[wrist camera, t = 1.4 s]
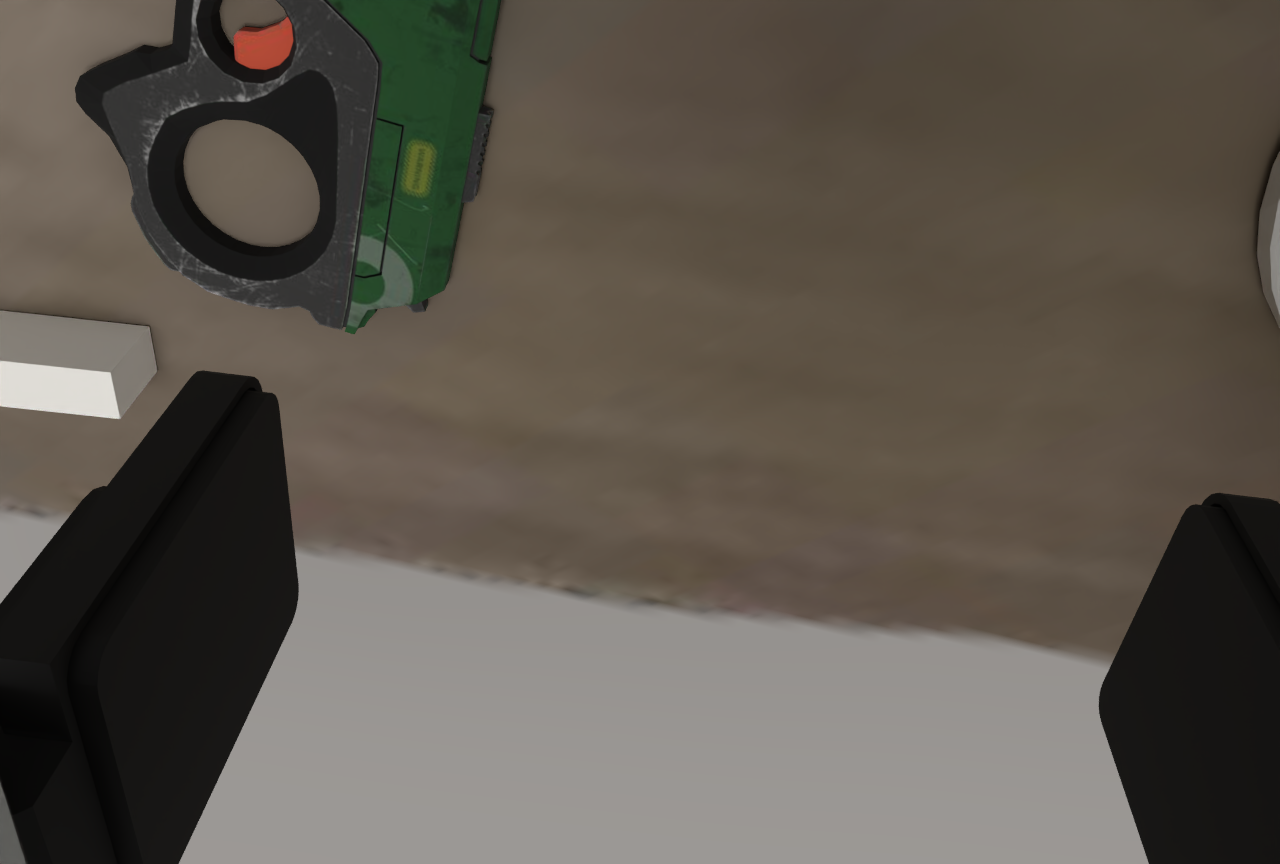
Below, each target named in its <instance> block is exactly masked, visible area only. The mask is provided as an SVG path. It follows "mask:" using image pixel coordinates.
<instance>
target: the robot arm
mask: <svg viewBox="0 0 1280 864" xmlns="http://www.w3.org/2000/svg"><path fill="white" fill-rule="evenodd" d="M1257 258H1258V264H1259V270H1260V276H1261V282H1262V288H1263V293H1264V296H1265V298H1266V300H1267V302H1268V304H1269V307H1270V309H1271V311H1272V313H1273V315H1274V318H1275V320H1276V322H1277V324H1278V326H1279V328H1280V152H1279V154H1278V156H1277V158H1276V160H1275V162H1274V164H1273V166H1272V170H1271V174H1270V177H1269V181H1268V184H1267V188H1266V191H1265V195H1264V199H1263V202H1262V206H1261V209H1260V216H1259V231H1258V246H1257ZM298 592H299V591H298V577H297V567H296V558H295V548H294V539H293V530H292V521H291V512H290V503H289V493H288V484H287V475H286V466H285V457H284V448H283V438H282V429H281V420H280V411H279V404H278V400H277V397H276V395H274V394H273V393H267V392H262V388H261V385H260V383H259V381H258V379H256V378H255V377H251V376H243V375H235V374H226V373H218V372H210V371H198V372H196V373H195V374H194V375H193V376H192V377H191V378H190V379H189V381H188V382H187V383H186V384H185V386H184V387H183V388H182V390H181V391H180V392H179V393H178V395H177V396H176V397H175V399H174V400H173V401H172V403H171V404H170V405H169V406H168V408H167V409H166V410H165V412H164V413H163V414H162V416H161V417H160V418H159V419H158V421H157V422H156V423H155V425H154V426H153V427H152V429H151V430H150V431H149V432H148V434H147V435H146V436H145V438H144V439H143V440H142V442H141V443H140V444H139V445H138V447H137V448H136V449H135V451H134V452H133V453H132V454H131V456H130V457H129V458H128V460H127V461H126V462H125V464H124V465H123V466H122V467H121V469H120V470H119V471H118V473H117V474H116V475H115V477H114V478H113V479H112V480H111V482H110V483H109V484H108V486H102V487H99V488H96V489H94V490H92V491H91V492H90V493H89V494H88V495H87V496H86V497H85V498H84V499H83V500H82V501H81V502H80V504H79V505H78V506H77V507H76V509H75V510H74V511H73V513H72V514H71V515H70V516H69V518H68V519H67V520H66V521H65V523H64V524H63V525H62V526H61V528H60V529H59V530H58V532H57V533H56V534H55V535H54V537H53V538H52V539H51V541H50V542H49V543H48V544H47V546H46V547H45V548H44V549H43V551H42V552H41V553H40V554H39V556H38V557H37V558H36V560H35V561H34V562H33V563H32V565H31V566H30V567H29V568H28V570H27V571H26V572H25V574H24V575H23V576H22V577H21V579H20V580H19V581H18V582H17V584H16V585H15V586H14V587H13V589H12V590H11V591H10V593H9V594H8V595H7V596H6V598H5V599H4V600H3V601H2V603H1V604H0V864H179V861H180V859H181V857H182V855H183V853H184V851H185V849H186V846H187V844H188V842H189V840H190V838H191V836H192V833H193V831H194V830H195V827H196V825H197V823H198V821H199V819H200V817H201V815H202V813H203V810H204V808H205V806H206V804H207V802H208V800H209V798H210V796H211V793H212V791H213V789H214V787H215V785H216V783H217V781H218V778H219V776H220V774H221V772H222V770H223V768H224V766H225V763H226V761H227V759H228V757H229V755H230V752H231V751H232V749H233V746H234V744H235V742H236V740H237V738H238V736H239V734H240V732H241V729H242V727H243V725H244V723H245V721H246V719H247V716H248V714H249V712H250V710H251V708H252V706H253V704H254V702H255V700H256V698H257V695H258V693H259V691H260V689H261V687H262V685H263V683H264V681H265V678H266V676H267V674H268V672H269V670H270V668H271V666H272V664H273V661H274V659H275V657H276V655H277V653H278V651H279V648H280V646H281V644H282V642H283V640H284V638H285V636H286V634H287V632H288V629H289V627H290V625H291V623H292V621H293V618H294V615H295V612H296V607H297V601H298ZM1099 714H1100V718H1101V722H1102V725H1103V728H1104V731H1105V734H1106V737H1107V740H1108V743H1109V746H1110V749H1111V752H1112V755H1113V758H1114V761H1115V764H1116V767H1117V770H1118V773H1119V776H1120V779H1121V782H1122V785H1123V788H1124V791H1125V794H1126V797H1127V799H1128V803H1129V806H1130V809H1131V812H1132V814H1133V817H1134V820H1135V823H1136V826H1137V829H1138V832H1139V835H1140V838H1141V841H1142V844H1143V847H1144V850H1145V853H1146V856H1147V859H1148V862H1149V864H1280V504H1279V503H1278V502H1277V501H1274V500H1271V499H1265V498H1257V497H1248V496H1240V495H1232V494H1223V493H1215V494H1211V495H1210V496H1209V497H1208V498H1206V499H1205V500H1204V502H1203V504H1202V505H1196V504H1195V505H1191V506H1190V507H1189V508H1187V509H1186V511H1185V512H1184V514H1183V516H1182V517H1181V520H1180V522H1179V524H1178V526H1177V528H1176V530H1175V532H1174V534H1173V536H1172V539H1171V541H1170V543H1169V545H1168V547H1167V549H1166V551H1165V553H1164V555H1163V557H1162V560H1161V562H1160V564H1159V566H1158V568H1157V570H1156V572H1155V574H1154V576H1153V578H1152V581H1151V583H1150V585H1149V587H1148V589H1147V591H1146V593H1145V595H1144V597H1143V600H1142V602H1141V604H1140V606H1139V608H1138V610H1137V612H1136V614H1135V616H1134V618H1133V621H1132V623H1131V625H1130V627H1129V629H1128V631H1127V633H1126V635H1125V637H1124V639H1123V642H1122V644H1121V646H1120V648H1119V650H1118V652H1117V654H1116V656H1115V658H1114V660H1113V663H1112V665H1111V667H1110V669H1109V671H1108V673H1107V675H1106V677H1105V679H1104V682H1103V684H1102V687H1101V691H1100V696H1099Z"/></svg>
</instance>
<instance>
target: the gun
mask: <svg viewBox="0 0 1280 864" xmlns="http://www.w3.org/2000/svg"><path fill="white" fill-rule="evenodd" d="M276 1H277V2H278V3H279V4H280V5H281V6H282V7H283V8H284V10H285V12H286V14H287V16H288V17H287V18H286V19H284V20H283V21H281V22H278V23H275V24H272V25H270V26H267V27H264V28H254V27H243V28H241V29H240V30H239V31H238V32H237V33H236V34H235V35H234V47H233V46H232V45H231V44H230V43H229V41H228V39H227V37H226V35H225V33H224V31H223V29H222V27H221V20H220V13H219V10H220V6H221V2H222V0H176V8H175V19H174V31H173V44H172V45H168V46H164V47H160V48H159V47H153V46H148V45H143V46H141V47H139V48H137V49H135V50H133V51H131V52H129V53H127V54H124V55H122V56H119V57H117V58H114V59H112V60H109V61H107V62H105V63H102V64H100V65H98V66H96V67H94V68H93V69H91V70H89V71H87V72H86V73H84V74H83V75H81V76H80V77H79V80H78V82H77V85H76V87H75V92H76V101H77V103H78V104H79V105H80V107H81V108H82V109H83V111H84V112H85V113H86V114H87V115H88V116H89V117H90V118H91V119H92V120H93V121H94V122H95V123H96V124H97V125H98V126H99V127H100V128H101V129H102V130H103V131H105V132H106V133H107V134H108V135H109V137H110V138H111V140H112V142H113V143H114V145H115V147H116V148H117V150H118V152H119V153H120V155H121V157H122V159H123V160H124V162H125V164H126V165H127V167H128V171H129V175H130V179H131V183H132V187H133V192H134V194H133V196H132V200H131V208H132V212H133V214H134V216H135V218H136V220H137V222H138V224H139V227H140V229H141V231H142V233H143V235H144V237H145V239H146V240H147V242H148V243H149V244H150V246H151V247H152V249H153V250H154V251H155V253H156V254H157V255H158V257H159V258H160V260H161V261H162V262H163V264H164V265H166V266H167V267H168V268H169V269H170V270H173V271H179V272H180V273H181V274H182V275H183V276H185V277H186V278H188V279H189V280H191V281H192V282H194V283H196V284H197V285H199V286H200V287H202V288H203V289H205V290H206V291H208V292H210V293H213V294H216V295H219V296H222V297H225V298H228V299H231V300H234V301H237V302H240V303H243V304H247V305H250V306H256V307H262V308H268V309H280V308H290V307H301V308H303V309H306V310H308V311H310V313H311V315H312V317H313V318H314V319H315V321H316V322H317V323H318V324H320V325H323V326H327V327H331V328H335V329H339V330H342V328H343V327H346V330H345V332H348V333H352V334H355V332H356V331H357V329H358V328H360V327H364V326H365V325H366V323H367V321H368V320H369V319H370V318H371V317H372V316H373V314H374V313H375V312H376V311H377V309H380V308H388V307H397V306H405V305H406V306H407V307H408V308H409V309H410V310H411V311H412V312H425V310H426V308H427V306H428V302H427V299H428V298H430V297H432V296H434V295H436V294H438V293H440V292H442V291H444V290H445V287H446V285H447V283H448V281H449V277H450V272H451V267H452V262H453V256H454V251H455V246H456V241H457V236H458V230H459V225H460V220H461V215H462V210H463V204H464V202H473V201H474V198H475V196H476V195H477V190H478V185H479V180H480V175H481V170H482V168H481V165H482V164H483V160H484V159H483V155H485V149H484V148H485V146H486V145H487V140H486V137H488V135H489V131H488V127H490V125H491V121H490V118H492V115H493V109H490V108H487V107H484V106H482V105H483V101H484V95H485V90H486V85H487V80H488V75H489V69H490V64H491V59H492V57H490V55H491V50H492V45H493V40H494V35H495V29H496V24H497V19H498V14H499V9H500V3H501V0H276ZM222 119H228V120H245V121H249V122H252V123H256V124H260V125H262V126H265V127H267V128H269V129H271V130H273V131H274V132H276V133H278V134H280V135H281V136H282V137H284V138H285V139H286V140H287V141H289V142H290V143H291V144H292V145H293V146H294V147H295V148H296V149H297V150H298V151H299V152H300V153H301V155H302V156H303V157H304V158H305V160H306V162H307V163H308V165H309V166H310V168H311V170H312V172H313V174H314V177H315V179H316V182H317V185H318V190H319V195H320V211H319V216H318V220H317V223H316V225H315V227H314V229H313V231H312V232H311V233H310V234H308V235H307V236H305V237H304V238H303V239H301V240H299V241H297V242H295V243H292V244H290V245H285V246H280V247H260V246H255V245H250V244H247V243H244V242H241V241H238V240H236V239H234V238H232V237H230V236H229V235H227V234H225V233H223V232H222V231H221V230H219V229H218V228H217V227H215V226H214V225H213V224H212V223H211V222H210V221H209V220H208V219H207V218H206V217H205V216H204V215H203V214H202V213H201V211H200V210H199V208H198V207H197V206H196V204H195V203H194V201H193V199H192V197H191V195H190V193H189V191H188V189H187V185H186V181H185V178H184V169H183V159H184V152H185V148H186V146H187V143H188V141H189V138H190V137H191V135H192V134H193V133H194V131H195V130H196V129H197V128H199V127H201V126H204V125H207V124H209V123H212V122H214V121H217V120H222Z"/></svg>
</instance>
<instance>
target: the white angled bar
mask: <svg viewBox="0 0 1280 864" xmlns="http://www.w3.org/2000/svg"><path fill="white" fill-rule="evenodd" d="M156 372H157V366H156V360H155V355H154V349H153V344H152V338H151V333H150V327H149V326H141V325H131V324H122V323H113V322H103V321H94V320H85V319H76V318H66V317H57V316H48V315H38V314H29V313H20V312H11V311H1V310H0V406H4V407H13V408H22V409H32V410H41V411H50V412H60V413H69V414H78V415H88V416H97V417H106V418H116V419H121V417H122V416H123V415H124V413H125V412H126V411H127V410H128V408H129V407H130V406H131V404H132V403H133V402H134V401H135V399H136V398H137V397H138V395H139V394H140V393H141V392H142V390H143V389H144V388H145V386H146V385H147V384H148V383H149V381H150V380H151V379H152V377H153V376H154V375H155V374H156Z"/></svg>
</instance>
